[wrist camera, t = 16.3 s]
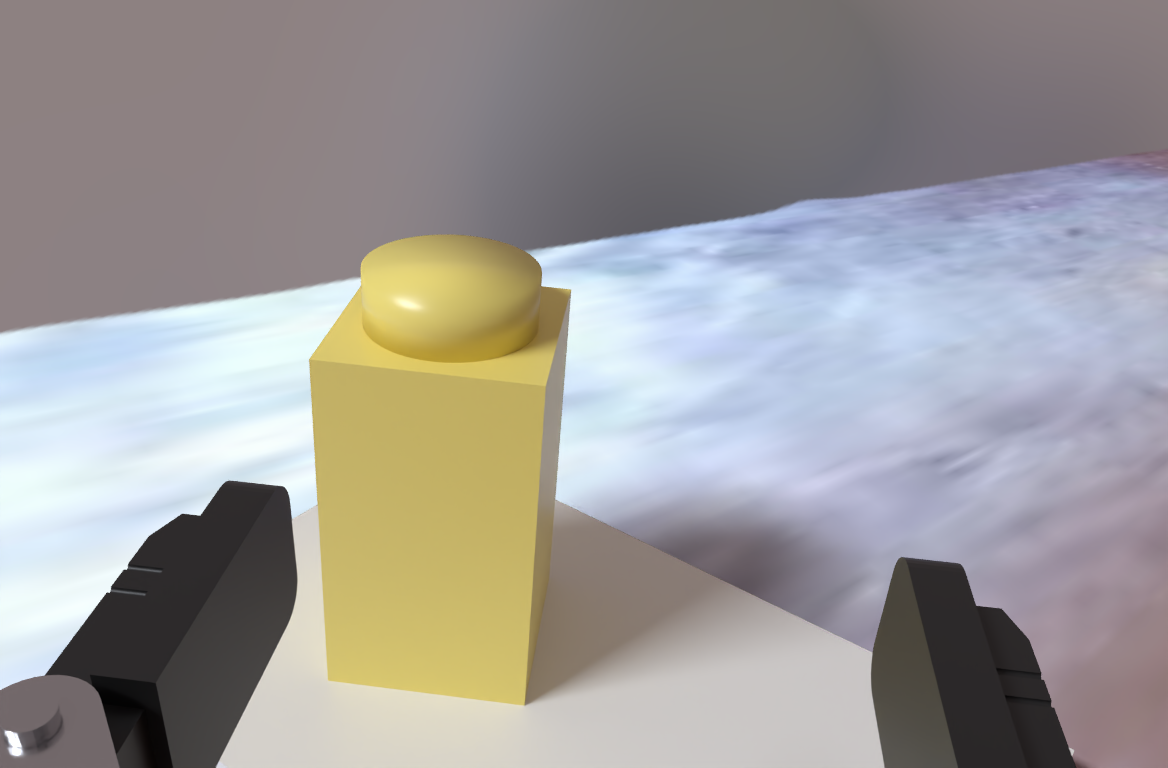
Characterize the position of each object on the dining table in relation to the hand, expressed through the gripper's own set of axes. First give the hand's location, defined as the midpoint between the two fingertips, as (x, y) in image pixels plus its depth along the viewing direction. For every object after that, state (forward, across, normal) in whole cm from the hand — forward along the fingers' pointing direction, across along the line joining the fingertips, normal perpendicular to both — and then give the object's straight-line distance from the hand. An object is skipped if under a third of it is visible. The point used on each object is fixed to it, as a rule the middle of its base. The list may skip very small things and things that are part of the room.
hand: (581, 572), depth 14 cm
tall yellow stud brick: (+14, +5, +15) cm, 22 cm away
